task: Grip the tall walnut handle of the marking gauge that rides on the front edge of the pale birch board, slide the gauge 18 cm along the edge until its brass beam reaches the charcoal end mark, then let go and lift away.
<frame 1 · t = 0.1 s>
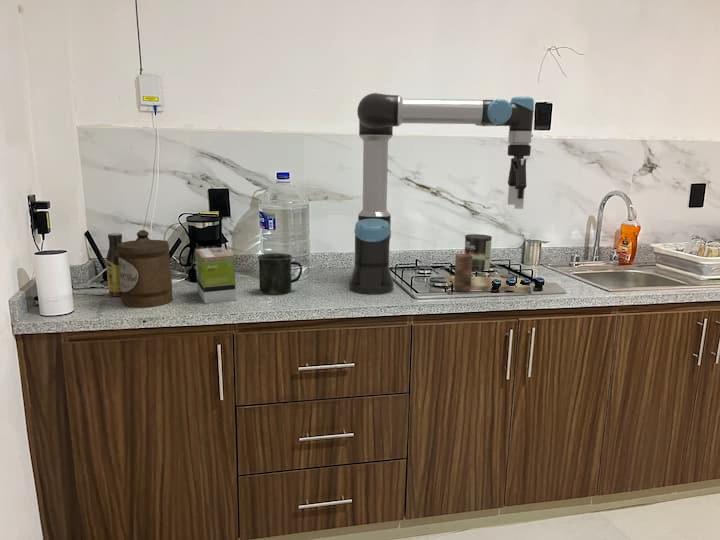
hand: (515, 206, 197), 28 cm above the table, tool pointing down, fingers open, 13 cm apart
mug: (280, 291, 188), on the table
wooden container: (147, 301, 174), on the table
sauce bottle: (119, 295, 181), on the table
coffee can: (476, 271, 224), on the table
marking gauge: (461, 270, 195), point 6 cm above the table, slide at 0.0 cm
tea box: (216, 297, 181), on the table
birch board: (486, 286, 198), on the table
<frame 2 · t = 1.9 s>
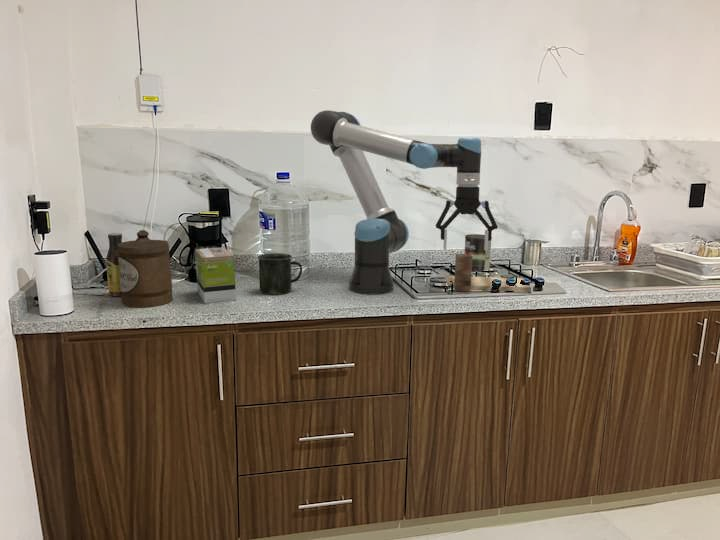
hand: (465, 249, 190), 14 cm above the table, tool pointing down, fingers open, 13 cm apart
nothing on the table moved.
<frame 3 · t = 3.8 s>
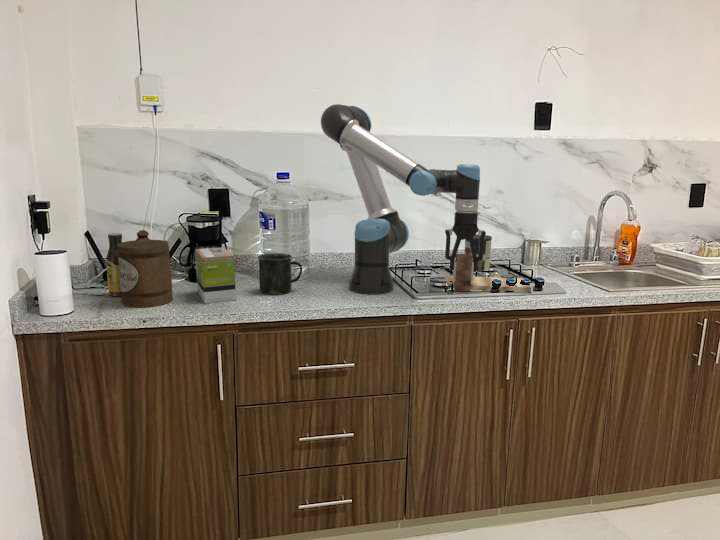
hand: (462, 279, 192), 4 cm above the table, tool pointing down, fingers closed on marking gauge, 5 cm apart
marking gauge: (461, 270, 195), point 6 cm above the table, slide at 0.0 cm, touching gripper
everything else where it was.
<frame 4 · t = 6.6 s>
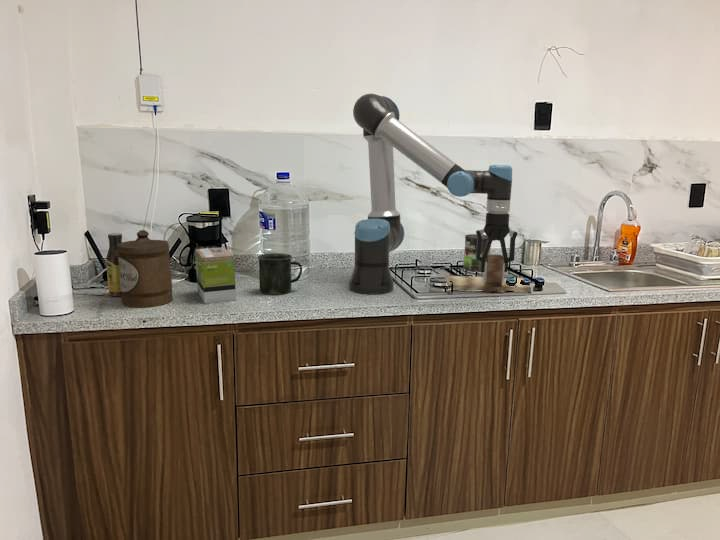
hand: (493, 280, 191), 4 cm above the table, tool pointing down, fingers closed on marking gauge, 5 cm apart
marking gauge: (491, 270, 194), point 6 cm above the table, slide at 10.3 cm, touching gripper
everything else where it was.
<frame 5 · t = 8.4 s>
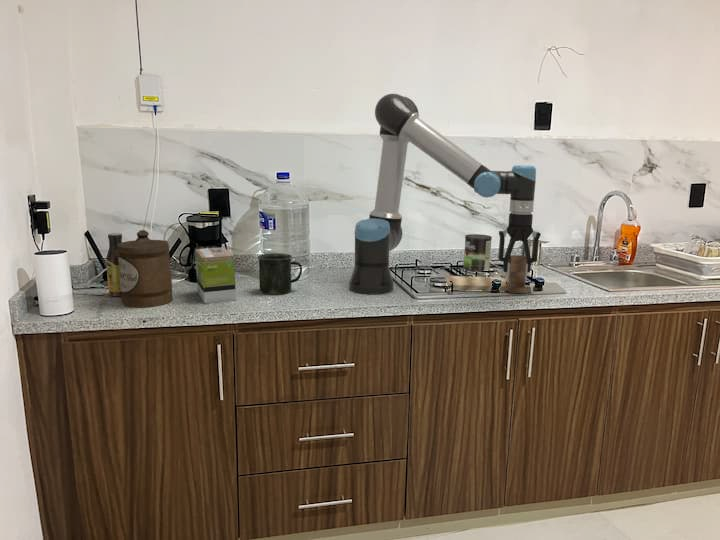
hand: (515, 281, 191), 4 cm above the table, tool pointing down, fingers closed on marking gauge, 5 cm apart
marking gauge: (514, 271, 194), point 6 cm above the table, slide at 17.8 cm, touching gripper
everything else where it was.
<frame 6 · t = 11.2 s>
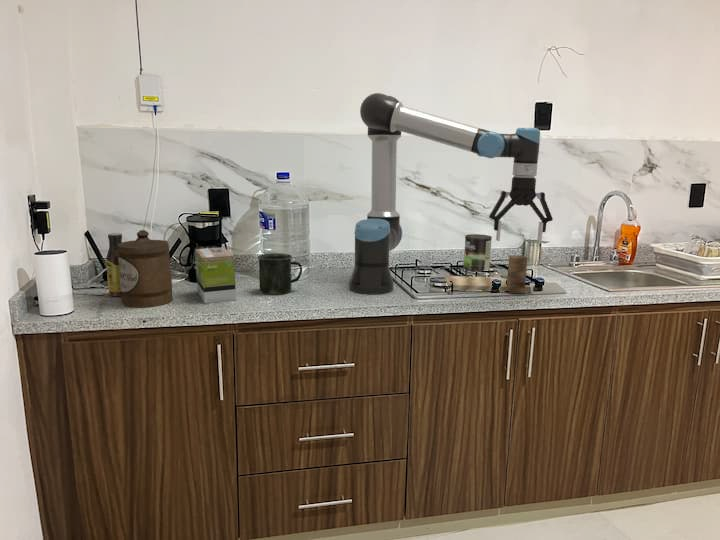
hand: (518, 241, 188), 18 cm above the table, tool pointing down, fingers open, 13 cm apart
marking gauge: (514, 271, 194), point 6 cm above the table, slide at 18.0 cm
everything else where it was.
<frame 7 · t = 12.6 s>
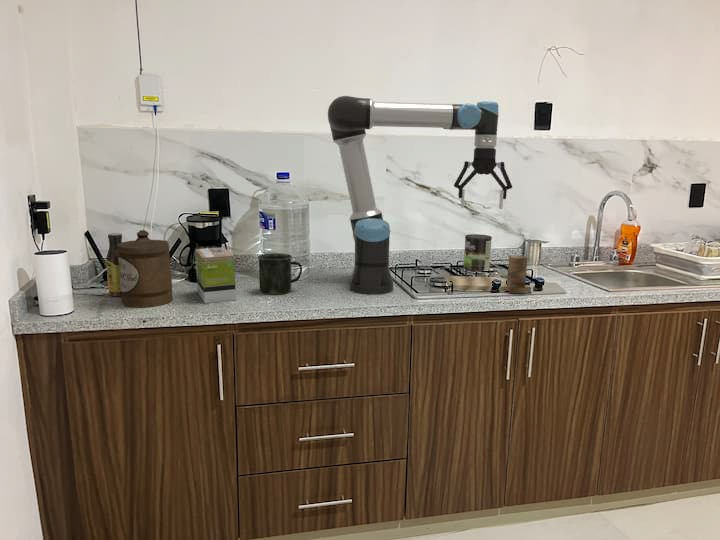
hand: (481, 208, 202), 27 cm above the table, tool pointing down, fingers open, 13 cm apart
nothing on the table moved.
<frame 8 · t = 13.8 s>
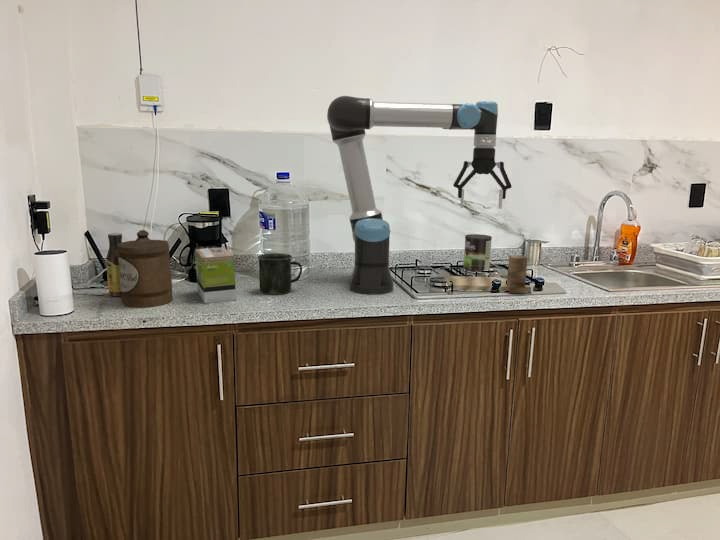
hand: (480, 207, 202), 27 cm above the table, tool pointing down, fingers open, 13 cm apart
nothing on the table moved.
at the end: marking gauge slide at 18.0 cm; the gripper is holding nothing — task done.
